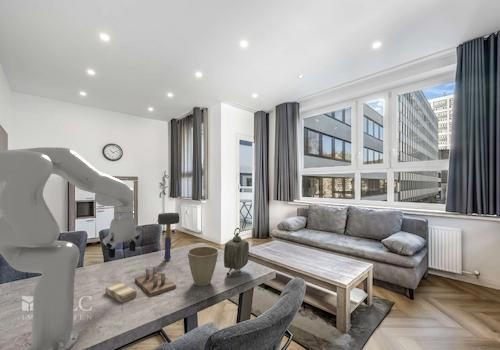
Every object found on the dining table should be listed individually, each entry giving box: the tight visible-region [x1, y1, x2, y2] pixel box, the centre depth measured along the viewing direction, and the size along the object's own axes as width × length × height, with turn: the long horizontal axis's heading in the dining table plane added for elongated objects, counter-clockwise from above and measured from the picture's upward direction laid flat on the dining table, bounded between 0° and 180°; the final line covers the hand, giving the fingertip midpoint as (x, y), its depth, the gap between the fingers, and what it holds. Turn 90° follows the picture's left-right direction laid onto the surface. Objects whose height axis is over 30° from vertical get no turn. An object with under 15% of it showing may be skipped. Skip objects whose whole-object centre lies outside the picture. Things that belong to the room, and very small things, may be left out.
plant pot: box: [187, 246, 219, 287], centre depth 114 cm, size 15×15×16 cm
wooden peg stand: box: [134, 266, 177, 297], centre depth 111 cm, size 20×12×6 cm, turn 44°
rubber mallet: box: [157, 212, 180, 262], centre depth 145 cm, size 12×8×30 cm, turn 119°
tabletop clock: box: [223, 227, 250, 276], centre depth 127 cm, size 14×9×25 cm, turn 159°
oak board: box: [105, 282, 137, 303], centre depth 100 cm, size 14×6×3 cm, turn 57°
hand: (122, 254), depth 101 cm, fingers open, 9 cm apart
